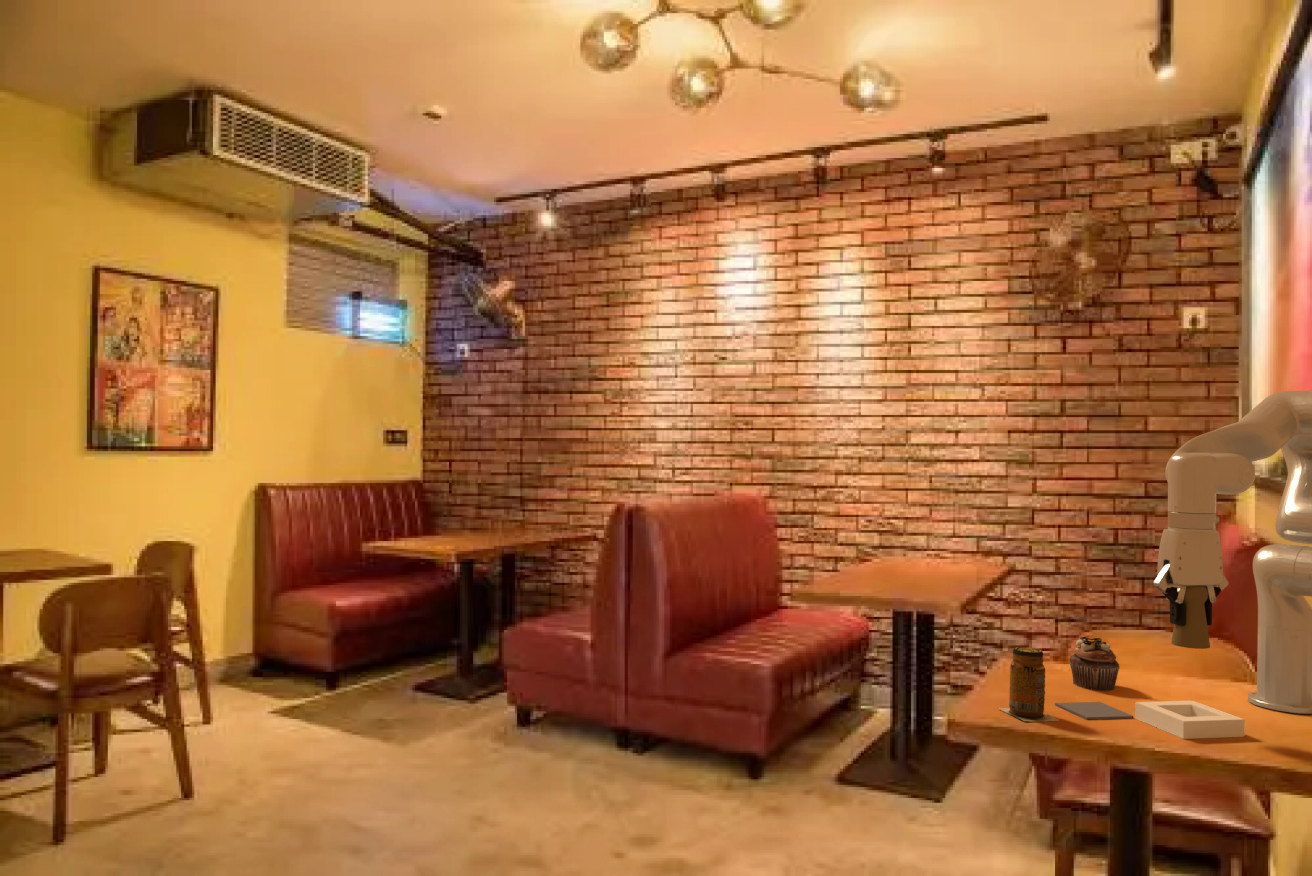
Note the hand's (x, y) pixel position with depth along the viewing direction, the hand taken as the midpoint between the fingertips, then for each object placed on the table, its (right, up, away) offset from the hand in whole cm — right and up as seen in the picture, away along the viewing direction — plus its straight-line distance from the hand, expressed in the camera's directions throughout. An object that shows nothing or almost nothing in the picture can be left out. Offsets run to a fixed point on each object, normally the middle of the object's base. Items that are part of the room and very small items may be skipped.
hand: (1190, 623), depth 165 cm
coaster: (-13, -18, +9) cm, 24 cm away
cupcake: (-4, -19, +29) cm, 35 cm away
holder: (-1, -19, 0) cm, 19 cm away
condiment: (-27, -18, +5) cm, 33 cm away
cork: (0, -4, 0) cm, 4 cm away
